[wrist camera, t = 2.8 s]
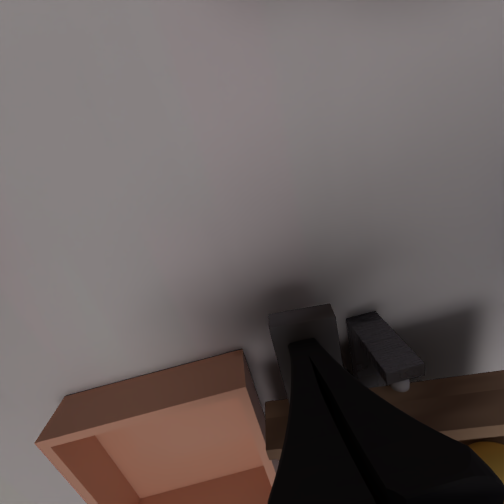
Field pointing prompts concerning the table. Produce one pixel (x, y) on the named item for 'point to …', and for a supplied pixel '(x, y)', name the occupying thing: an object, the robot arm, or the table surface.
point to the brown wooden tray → (391, 387)
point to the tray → (166, 438)
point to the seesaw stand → (380, 352)
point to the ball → (491, 456)
